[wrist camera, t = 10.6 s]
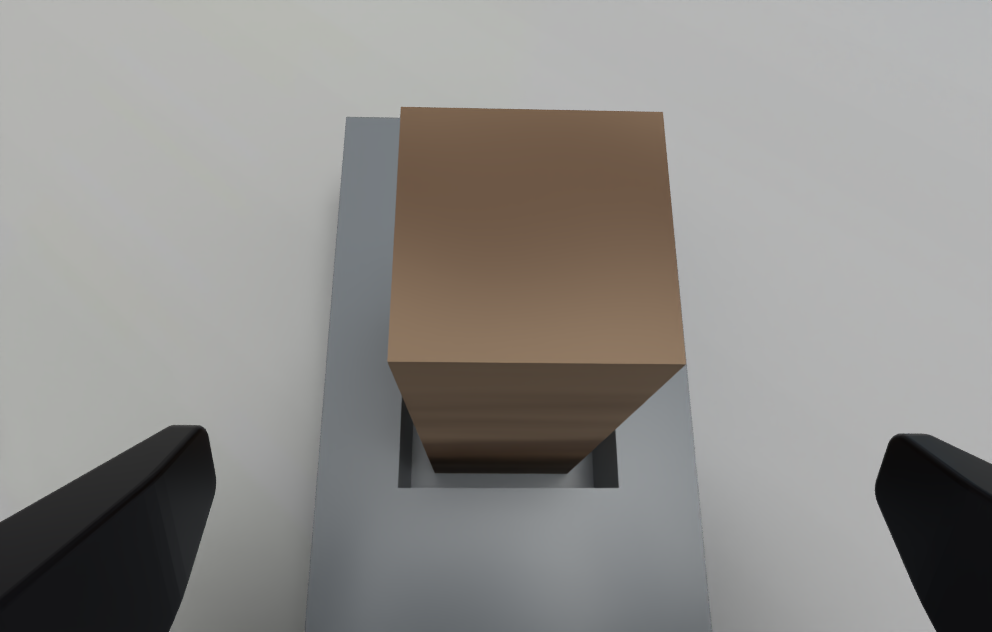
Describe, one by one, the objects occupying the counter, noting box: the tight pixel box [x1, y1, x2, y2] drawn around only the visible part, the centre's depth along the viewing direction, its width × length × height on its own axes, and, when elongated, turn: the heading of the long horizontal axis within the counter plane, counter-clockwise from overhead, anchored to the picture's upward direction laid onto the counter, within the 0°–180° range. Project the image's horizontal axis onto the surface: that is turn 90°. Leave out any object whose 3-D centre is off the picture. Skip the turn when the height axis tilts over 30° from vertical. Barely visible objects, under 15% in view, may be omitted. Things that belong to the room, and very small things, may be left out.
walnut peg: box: [387, 107, 686, 474], centre depth 16 cm, size 4×4×12 cm
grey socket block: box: [305, 117, 712, 632], centre depth 20 cm, size 16×10×4 cm, turn 0°
